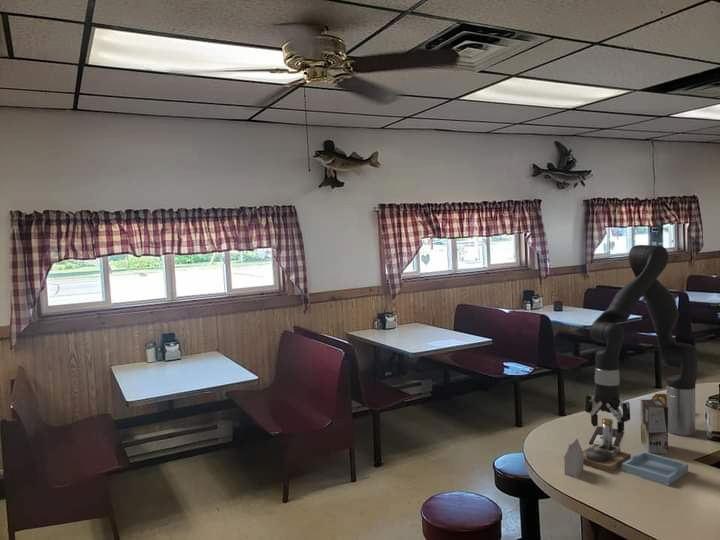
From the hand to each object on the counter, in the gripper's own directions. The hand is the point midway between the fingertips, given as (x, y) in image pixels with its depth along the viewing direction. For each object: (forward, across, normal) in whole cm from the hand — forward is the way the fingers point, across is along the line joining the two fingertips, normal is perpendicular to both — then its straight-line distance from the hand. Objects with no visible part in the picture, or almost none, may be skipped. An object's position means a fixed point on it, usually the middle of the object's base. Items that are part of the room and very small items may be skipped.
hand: (607, 429), depth 184 cm
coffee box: (+10, -7, -19) cm, 22 cm away
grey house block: (+10, +2, +17) cm, 20 cm away
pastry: (+10, +5, -60) cm, 61 cm away
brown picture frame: (+10, +9, -17) cm, 22 cm away
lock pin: (+8, 0, 0) cm, 8 cm away
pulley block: (+10, 0, +3) cm, 10 cm away
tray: (+10, -15, -1) cm, 18 cm away
